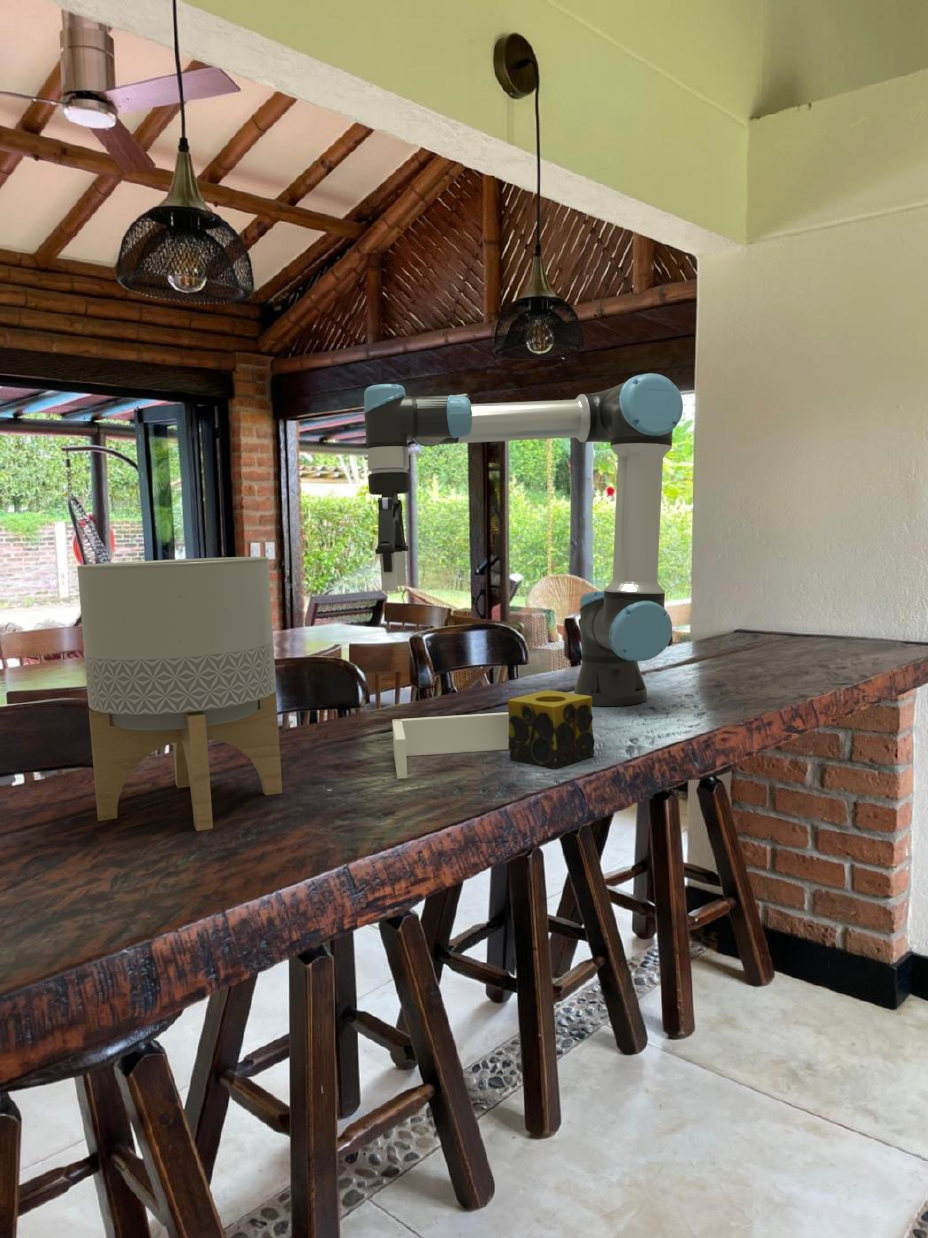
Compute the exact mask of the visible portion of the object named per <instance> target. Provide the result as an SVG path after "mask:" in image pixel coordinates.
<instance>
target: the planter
mask: <svg viewBox="0 0 928 1238" xmlns="http://www.w3.org/2000/svg"><path fill="white" fill-rule="evenodd" d="M76 567H77V580H78V592H79V593H78V595H79V605H80V615H81V618H80V619H81V627H82V642H83V655H84V666H85V676H86V677H85V678H86V691H87V693H86V694H87V702H88V707H89V708H90V709H89V710H88V715H89V716H88V717H89V729H90V741H91V743H90V744H91V753H92V765H93V767H92V768H93V778H94V789H95V790H94V791H95V801H96V814H97V821H98V822H101V821H103V822H104V821H107V820H108V821H109V820H115V819H118V804H119V800H120V797H121V794H122V790H123V787H124V786H125V783H126V781H127V779H128V778H129V776H130V775H131V773H132V772H133V771H134V769H135V768H136V767H137V766H138V765H139V764H140V763H141V762H142V761H144V759H146V758H147V757H148V756H150V755H151V754H152V753H154V752H157V750H158V751H159V750H160V749H161V748H164V747H167V746H169V745H172V749H173V761H174V762H173V763H174V776H175V778H174V779H175V786H176V788H177V789H184V788H189V787H190V794H191V795H190V796H191V798H190V799H191V804H192V805H191V806H192V815H193V826H194V829H195V830H196V832H201V831H207V830H212V829H214V823H213V822H214V821H213V820H214V819H213V811H212V810H213V809H212V795H211V794H212V793H211V792H212V791H211V781H210V780H211V779H210V767H209V766H210V764H209V749H208V741H217V742H220V743H223V744H226V745H228V746H231V747H233V748H235V749H237V750H238V751H240V752H241V753H242V754H244V755H245V757H247V758H248V759H249V761H251V763H252V764H253V766H254V768H255V769H256V772H257V774H258V776H259V779H260V783H261V787H262V793H263V794H264V796H273V795H278V794H279V795H280V794H282V793H283V784H282V783H283V782H282V771H281V770H282V769H281V768H282V767H281V752H280V751H281V749H280V735H279V721H278V719H279V718H278V703H277V700H278V699H277V681H276V680H277V679H276V664H275V648H274V647H275V646H274V645H275V644H274V634H273V633H274V631H273V614H272V613H273V612H272V598H271V582H270V581H271V580H270V567H269V557H268V556H236V557H235V556H231V557H228V556H227V557H205V558H202V557H201V558H181V559H178V558H177V559H176V558H175V559H160V560H158V559H156V560H142V561H140V560H137V561H123V562H122V561H120V562H106V563H104V562H103V563H102V562H101V563H91V564H80V565H77V566H76Z"/></svg>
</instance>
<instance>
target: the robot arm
mask: <svg viewBox="0 0 928 1238" xmlns="http://www.w3.org/2000/svg"><path fill="white" fill-rule="evenodd" d="M363 393H364V395H363V398H364V399H363V401H364V402H363V403H364V404H363V405H364V407H363V408H364V409H363V412H364V413H363V415H364V427H365V430H364V431H365V444H366V453H367V454H364V456H363V460H364V461H367V470H368V471H369V472H371V473H370V474H368V476H367V480H368V481H367V482H368V493H369V494H370V495H372V496H374V495H375V496H381V497H378V498H377V505H378V507H377V510H378V513H377V514H378V515H377V516H378V519H377V520H378V522H377V523H378V524H377V528H378V529H377V548H374V550H375V555H379V562H380V580H381V592H392V591H398V590H399V589H398V587H403V586H404V587H406V586H407V585H408V583H407V581H408V580H407V568H406V564H407V563H406V562H407V561H406V552H409V551H410V550H409V545H407V543H406V537H405V536H406V535H405V528H404V518H403V503H402V499H399V495H402V494H409V493H410V491H411V485H410V481H411V480H410V474H409V473H408V472H407V470H409V468H410V459H409V455H410V454H409V446H408V439H412V441H414V442H415V443H416V444H418V445H419V446H422V447H429V448H430V447H432V448H433V447H435V446H437V445H453V444H466V443H467V444H471V443H487V442H489V443H491V442H493V443H494V442H509V441H510V442H511V441H512V442H513V441H530V440H552V439H569V438H570V439H572V438H574V439H575V438H576V439H577V440H578V441H579V443H610V450H611V451H612V452H613V453H614V454H615V455H616V457H617V467H616V468H617V470H616V472H617V473H616V492H615V516H614V517H615V520H614V536H613V537H614V541H613V559H612V560H613V562H612V563H613V565H612V580H611V582H610V583H609V584H608V585H607V586H606V587H605V588H604V590H601V591H591V592H586V593H584V594H583V595H581V597H580V601H579V603H580V606H579V609H578V610H579V615H580V617H579V618H580V643H581V644H580V645H581V666H580V670H579V673H578V676H577V679H576V682H575V687H574V690H573V691H574V693H573V694H579V695H587V696H592V706H597V707H621V706H622V707H623V706H631V705H632V706H633V705H638V704H642V703H644V702H646V701H647V700H648V692H647V686H646V684H645V681H644V678H643V676H642V671H641V669H640V666H639V663H638V662H643V661H644V662H646V661H651V660H652V659H654V658H656V657H658V656H659V655H661V653H663V652H664V650H665V649H666V648H667V647H668V646H669V643H670V641H671V639H672V635H673V622H672V619H671V616H670V614H669V613H668V611H667V610H666V609H665V600H666V599H665V598H666V591H665V590H664V588H663V587H662V586H661V585H660V584H659V582H658V578H659V577H658V575H659V574H658V573H659V571H658V570H659V555H660V554H659V552H660V531H661V530H660V529H661V528H660V527H661V510H662V504H661V503H662V489H663V472H664V471H663V470H664V469H663V468H664V465H663V463H664V457H665V456H666V455H667V454H668V453H669V452H670V451H671V450H672V449H673V433H674V432H673V431H674V429H675V428H676V427H677V426H678V424H679V422H680V420H681V418H682V415H683V411H684V403H683V398H682V394H681V392H680V390H679V389H678V386H676V384H674V382H672V380H670V379H669V378H668V377H667V376H664V375H662V374H659V373H643V374H638V375H634V376H633V377H631V378H629V379H628V380H626V381H624V382H623V383H620V384H618V385H616V386H613V387H612V388H608V389H605V390H601V391H598V392H594V393H580V394H579V395H578V396H577V397H576V398H575V399H562V400H559V399H558V400H557V399H556V400H538V401H537V400H536V401H514V402H494V403H493V402H492V403H491V402H489V403H471V401H470V399H469V398H468V397H467V396H465V395H453V394H450V395H435V396H434V395H433V396H410V395H407V394H406V390H405V387H404V386H403V385H400V384H396V383H395V384H394V383H393V384H392V383H380V384H373V385H371V386H368V387H367V388H365V391H364V392H363Z"/></svg>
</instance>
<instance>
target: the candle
mask: <svg viewBox="0 0 928 1238" xmlns="http://www.w3.org/2000/svg"><path fill="white" fill-rule="evenodd" d="M507 708H508V714H509V736H508V739H509V743H508V747H509V749H508V751H509V758H510V760H512V761H515V762H520V763H525V764H530V765H535V766H539V767H545V768H550V769H554V770H555V769H559V768H563V767H566V766H567V765H568V766H569V765H573V764H575V763H577V762H581V761H583V760H586V759H589V758H593V756H595V749H594V747H595V737H594V729H593V719H594V716H593V711H592V710H593V709H592V708H593V705H592V696H587V695H579V694H574V693H572V692H563V691H557V690H549V689H545V690H542V691H538V692H534V693H529V694H525V695H521V696H517V697H513V698H511V699H508V700H507Z"/></svg>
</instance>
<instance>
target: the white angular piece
mask: <svg viewBox="0 0 928 1238" xmlns="http://www.w3.org/2000/svg"><path fill="white" fill-rule="evenodd" d="M508 712H509V711H508ZM508 712H507V711H506V712H494V713H493V712H492V713H476V714H459V715H447V716H446V715H444V716H429V717H428V716H427V717H414V718H398V719H397V718H396V719H394V718H393V719H391V721H392V722H391V723H392V724H391V725H392V741H393V743H392V744H393V757H394V763H395V764H394V765H395V772H396V778H397V780H399V779H408V765H407V764H408V763H407V757H414V756H428V755H442V754H443V755H444V754H457V753H458V754H459V753H461V754H462V753H471V752H472V753H473V752H489V751H502V750H509V747H508V743H509V739H508V736H509V714H508Z"/></svg>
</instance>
